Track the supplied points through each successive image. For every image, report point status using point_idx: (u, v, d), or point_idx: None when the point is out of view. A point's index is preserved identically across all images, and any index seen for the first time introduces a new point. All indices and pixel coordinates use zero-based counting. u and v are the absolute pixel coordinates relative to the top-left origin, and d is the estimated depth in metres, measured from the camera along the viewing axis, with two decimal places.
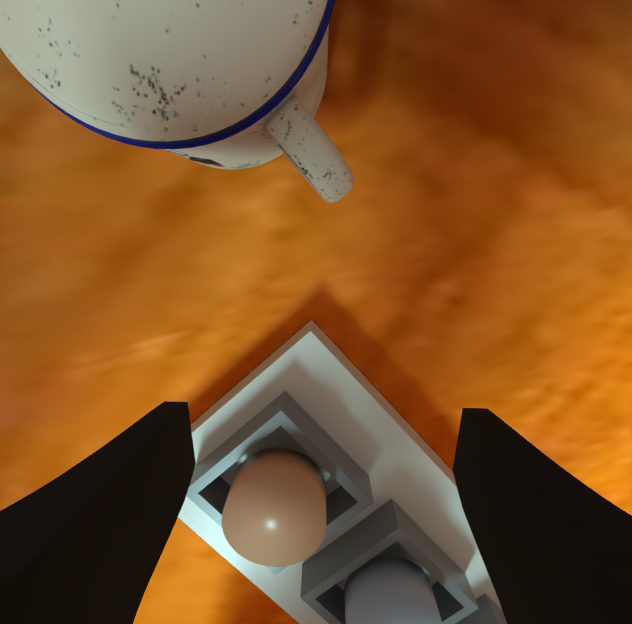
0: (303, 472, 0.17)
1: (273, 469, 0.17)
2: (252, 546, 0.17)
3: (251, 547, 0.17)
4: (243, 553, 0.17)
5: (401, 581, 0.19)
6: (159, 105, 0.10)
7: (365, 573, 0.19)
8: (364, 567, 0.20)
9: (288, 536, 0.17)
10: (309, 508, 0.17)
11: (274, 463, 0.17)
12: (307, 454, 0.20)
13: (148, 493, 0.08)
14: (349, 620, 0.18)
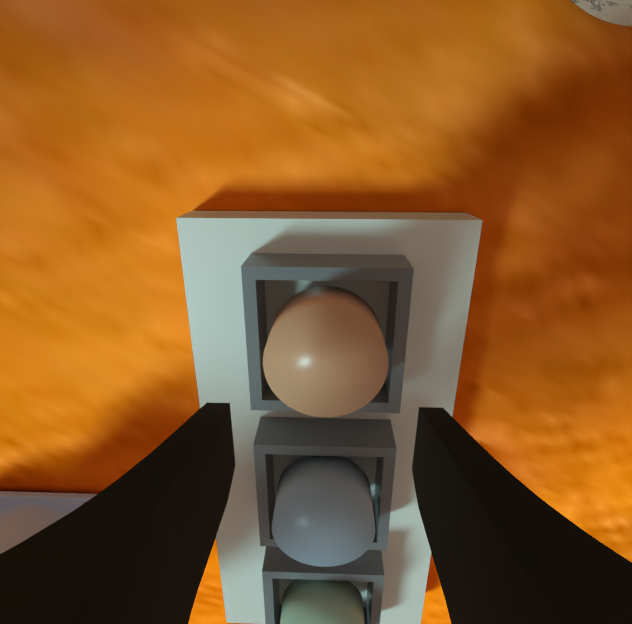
0: None
1: (367, 316, 0.14)
2: (283, 370, 0.14)
3: (282, 370, 0.14)
4: (268, 369, 0.14)
5: (362, 491, 0.17)
6: None
7: (331, 464, 0.18)
8: (330, 458, 0.18)
9: (326, 386, 0.15)
10: (371, 377, 0.14)
11: (366, 311, 0.14)
12: None
13: (200, 495, 0.08)
14: (297, 493, 0.17)
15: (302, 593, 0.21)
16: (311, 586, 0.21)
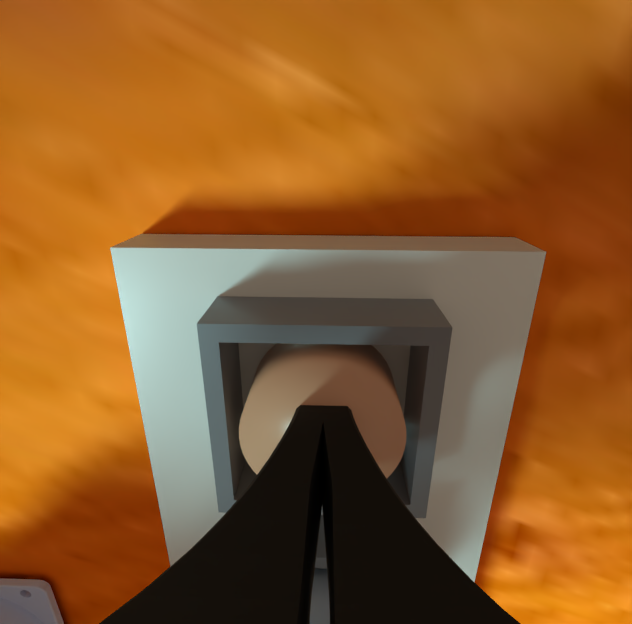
0: None
1: (378, 373, 0.11)
2: (266, 444, 0.11)
3: (264, 445, 0.11)
4: (246, 443, 0.11)
5: None
6: None
7: None
8: None
9: None
10: (383, 453, 0.11)
11: (376, 365, 0.11)
12: None
13: (316, 498, 0.08)
14: None
15: None
16: None
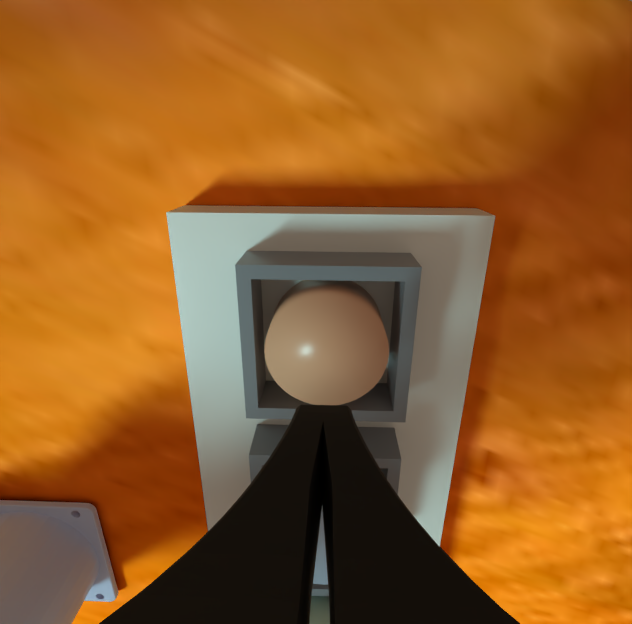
0: None
1: (368, 304, 0.14)
2: (285, 358, 0.14)
3: (283, 358, 0.14)
4: (270, 357, 0.14)
5: None
6: None
7: None
8: None
9: (326, 374, 0.15)
10: (371, 365, 0.14)
11: (367, 300, 0.15)
12: None
13: (315, 498, 0.08)
14: None
15: None
16: None
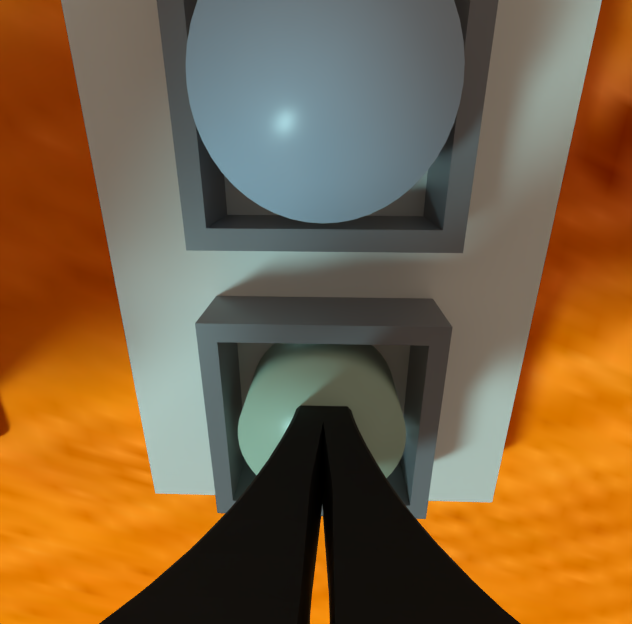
0: None
1: None
2: None
3: None
4: None
5: None
6: None
7: None
8: None
9: None
10: None
11: None
12: None
13: (316, 498, 0.08)
14: None
15: (285, 348, 0.11)
16: None
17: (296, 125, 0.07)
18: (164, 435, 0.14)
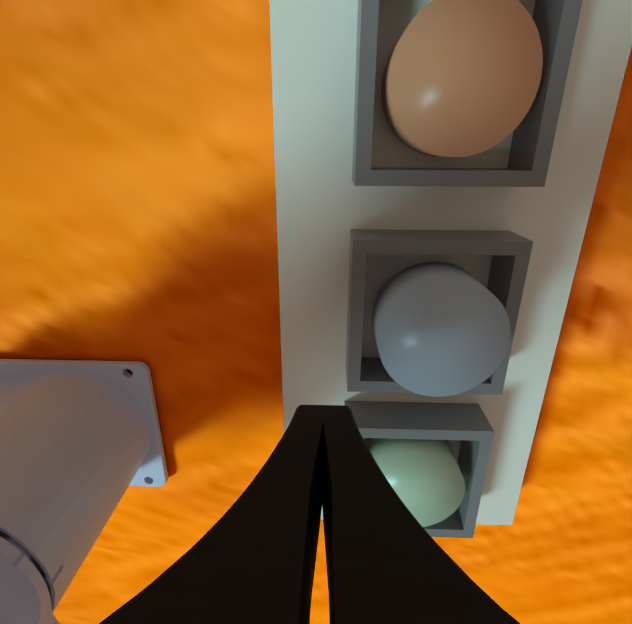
0: None
1: None
2: (414, 86, 0.12)
3: (412, 87, 0.12)
4: (396, 85, 0.12)
5: None
6: None
7: (448, 266, 0.14)
8: (445, 264, 0.15)
9: (462, 110, 0.12)
10: (518, 94, 0.12)
11: None
12: None
13: (316, 499, 0.08)
14: (416, 285, 0.13)
15: None
16: None
17: (428, 356, 0.14)
18: None
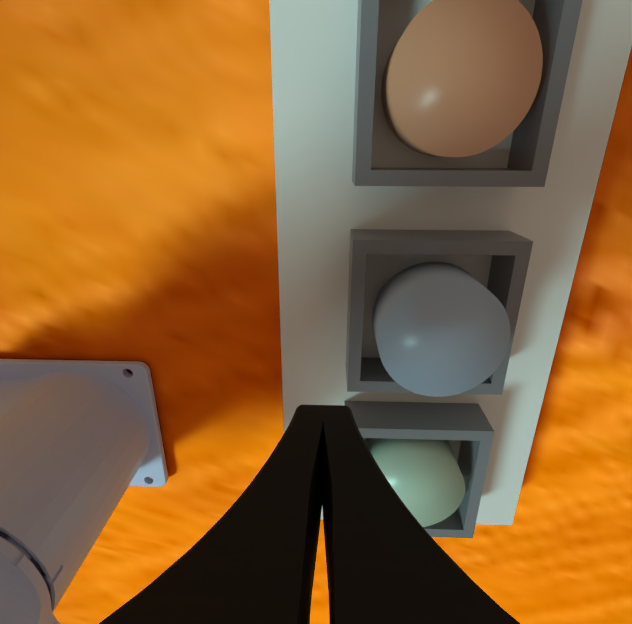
0: None
1: None
2: (414, 86, 0.12)
3: (412, 87, 0.12)
4: (396, 85, 0.12)
5: None
6: None
7: (448, 266, 0.14)
8: (445, 264, 0.15)
9: (462, 110, 0.12)
10: (518, 94, 0.12)
11: None
12: None
13: (316, 499, 0.08)
14: (416, 285, 0.13)
15: None
16: None
17: (428, 356, 0.14)
18: None
